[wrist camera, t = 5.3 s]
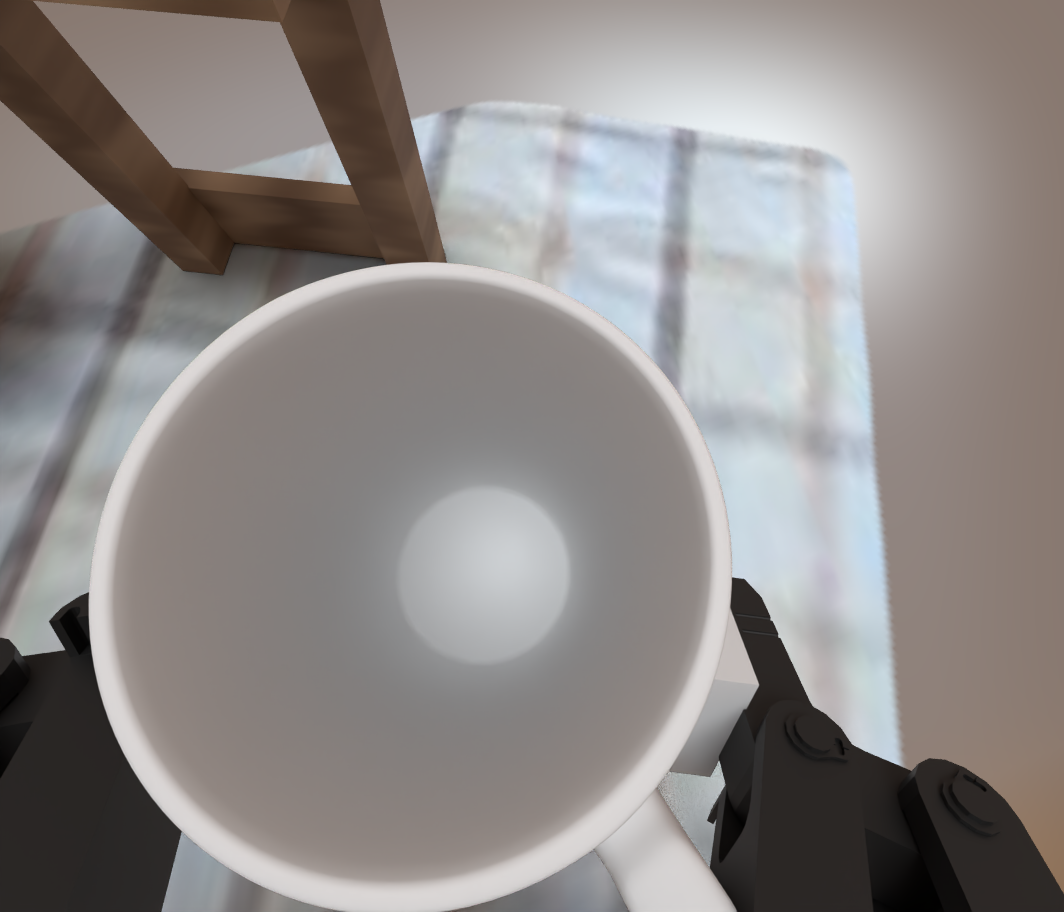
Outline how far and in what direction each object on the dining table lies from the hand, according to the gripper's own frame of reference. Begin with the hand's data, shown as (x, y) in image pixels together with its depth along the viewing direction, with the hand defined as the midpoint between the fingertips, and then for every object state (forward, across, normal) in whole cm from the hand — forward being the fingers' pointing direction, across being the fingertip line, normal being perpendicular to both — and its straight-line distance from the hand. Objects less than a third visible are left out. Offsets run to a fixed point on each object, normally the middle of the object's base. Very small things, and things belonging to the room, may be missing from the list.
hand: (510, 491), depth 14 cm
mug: (0, 0, -5) cm, 5 cm away
